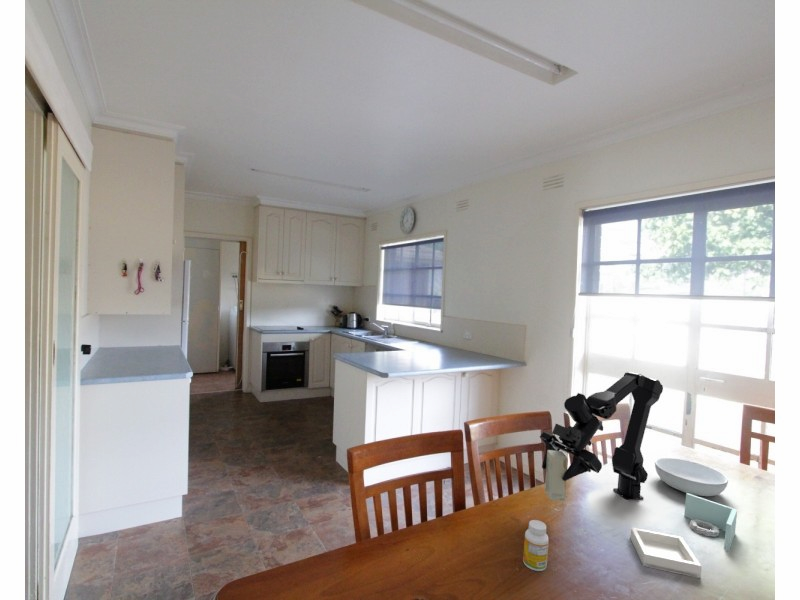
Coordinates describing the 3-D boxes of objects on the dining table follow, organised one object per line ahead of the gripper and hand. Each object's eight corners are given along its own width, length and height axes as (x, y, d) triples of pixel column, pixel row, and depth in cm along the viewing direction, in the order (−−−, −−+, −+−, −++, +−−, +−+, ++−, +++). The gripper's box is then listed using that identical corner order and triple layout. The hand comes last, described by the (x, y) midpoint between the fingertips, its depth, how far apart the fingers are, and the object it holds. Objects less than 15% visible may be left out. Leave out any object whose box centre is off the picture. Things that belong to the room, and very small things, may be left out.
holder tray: (630, 537, 113) (631, 527, 112) (680, 547, 109) (681, 536, 109) (643, 566, 101) (644, 554, 101) (700, 578, 98) (701, 565, 98)
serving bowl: (722, 486, 148) (724, 468, 148) (730, 512, 130) (732, 490, 130) (653, 469, 159) (655, 452, 159) (652, 490, 141) (654, 471, 141)
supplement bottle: (525, 553, 103) (528, 515, 103) (548, 562, 100) (551, 523, 100) (520, 565, 98) (523, 525, 98) (543, 575, 96) (547, 534, 95)
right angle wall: (684, 517, 127) (686, 492, 126) (734, 535, 118) (737, 509, 118) (675, 531, 118) (677, 506, 118) (728, 552, 110) (731, 525, 109)
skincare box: (565, 502, 117) (568, 459, 116) (549, 500, 117) (553, 458, 116) (559, 491, 123) (562, 450, 122) (544, 489, 123) (547, 449, 123)
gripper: (546, 405, 129) (516, 444, 125) (597, 425, 112) (565, 471, 108) (562, 427, 133) (534, 466, 129) (615, 450, 116) (584, 495, 112)
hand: (552, 474), depth 119 cm, fingers closed on skincare box, 7 cm apart
